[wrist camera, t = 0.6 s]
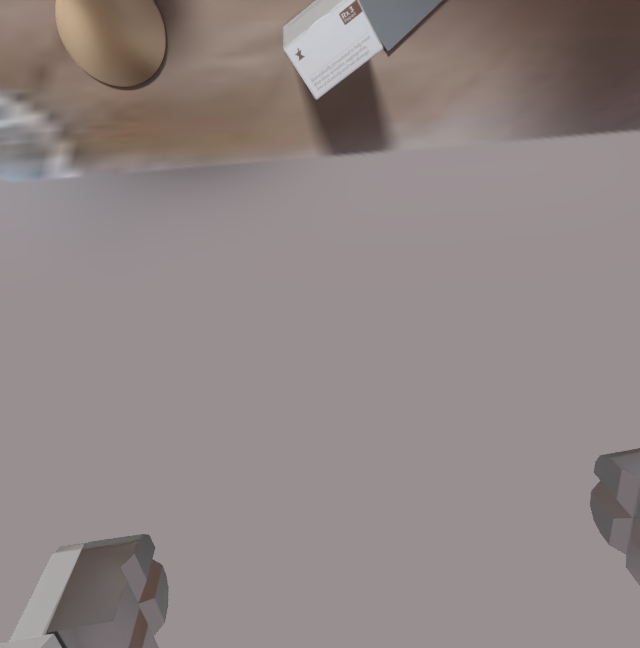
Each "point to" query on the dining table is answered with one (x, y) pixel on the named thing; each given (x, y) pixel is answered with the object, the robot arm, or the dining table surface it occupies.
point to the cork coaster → (113, 38)
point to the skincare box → (329, 42)
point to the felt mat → (396, 17)
